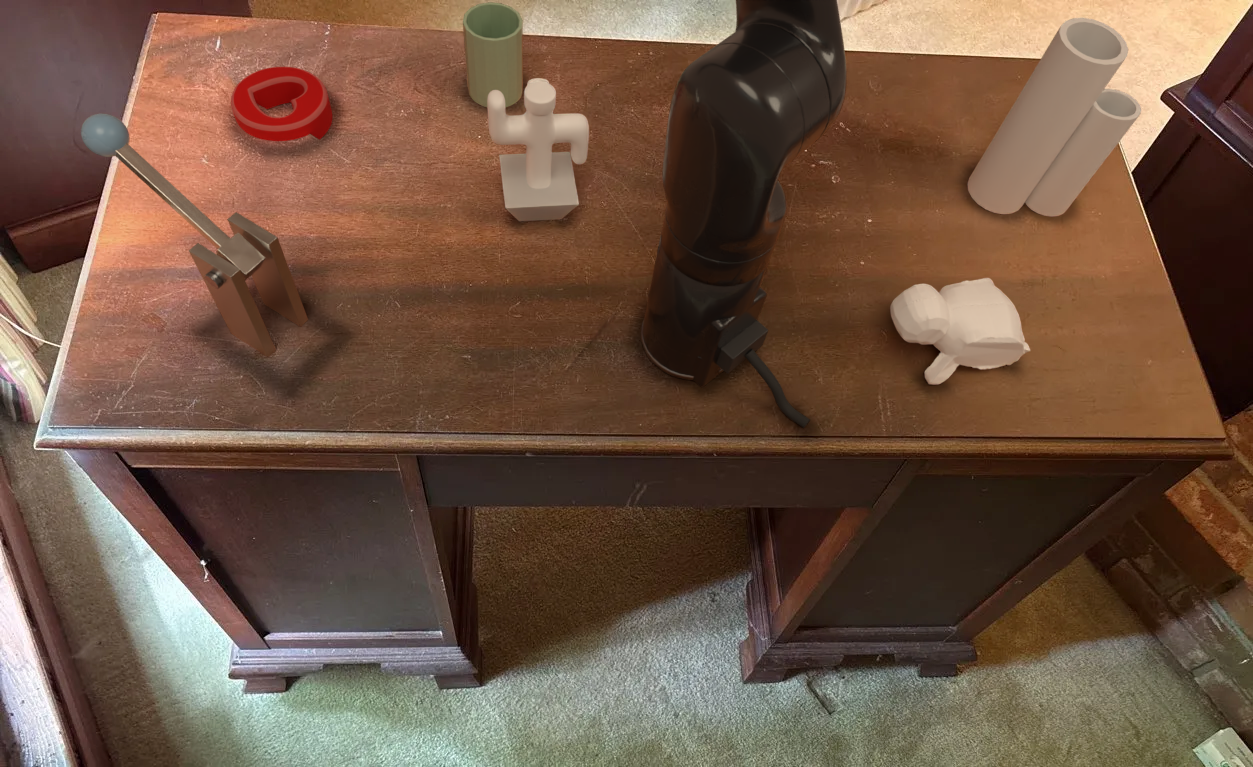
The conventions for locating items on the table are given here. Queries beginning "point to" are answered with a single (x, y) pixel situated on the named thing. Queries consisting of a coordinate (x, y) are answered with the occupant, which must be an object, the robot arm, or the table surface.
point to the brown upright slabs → (236, 295)
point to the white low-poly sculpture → (960, 325)
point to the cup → (493, 52)
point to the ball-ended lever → (167, 190)
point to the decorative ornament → (280, 89)
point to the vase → (1058, 124)
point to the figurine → (538, 153)
